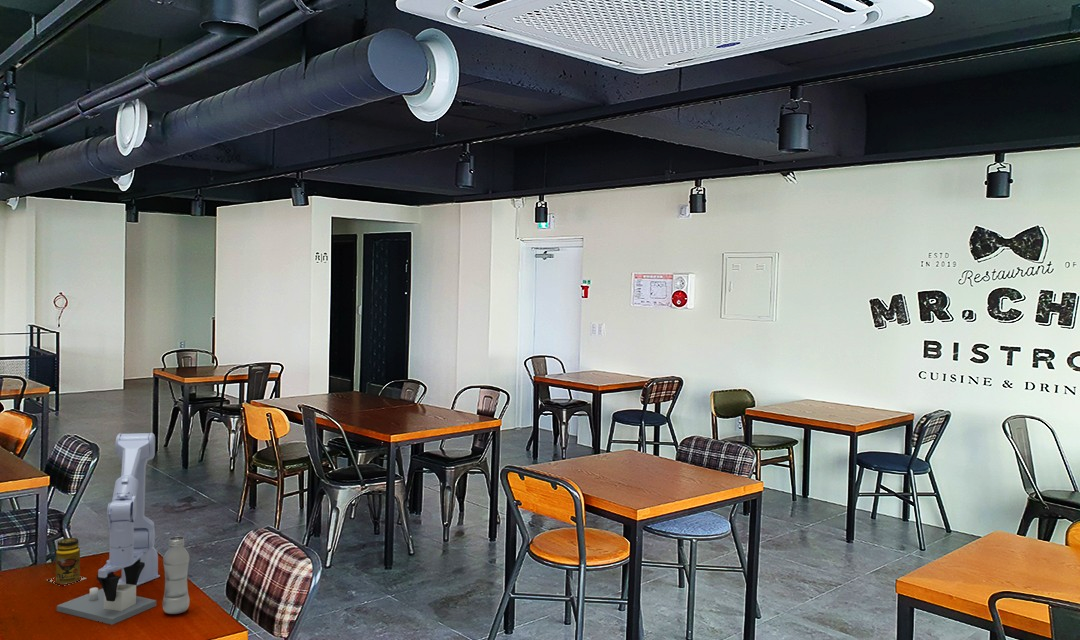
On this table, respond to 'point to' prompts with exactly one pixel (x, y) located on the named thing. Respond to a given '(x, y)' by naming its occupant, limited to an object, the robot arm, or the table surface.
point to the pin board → (102, 607)
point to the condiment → (68, 561)
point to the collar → (122, 597)
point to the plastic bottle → (176, 577)
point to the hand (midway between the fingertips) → (121, 595)
